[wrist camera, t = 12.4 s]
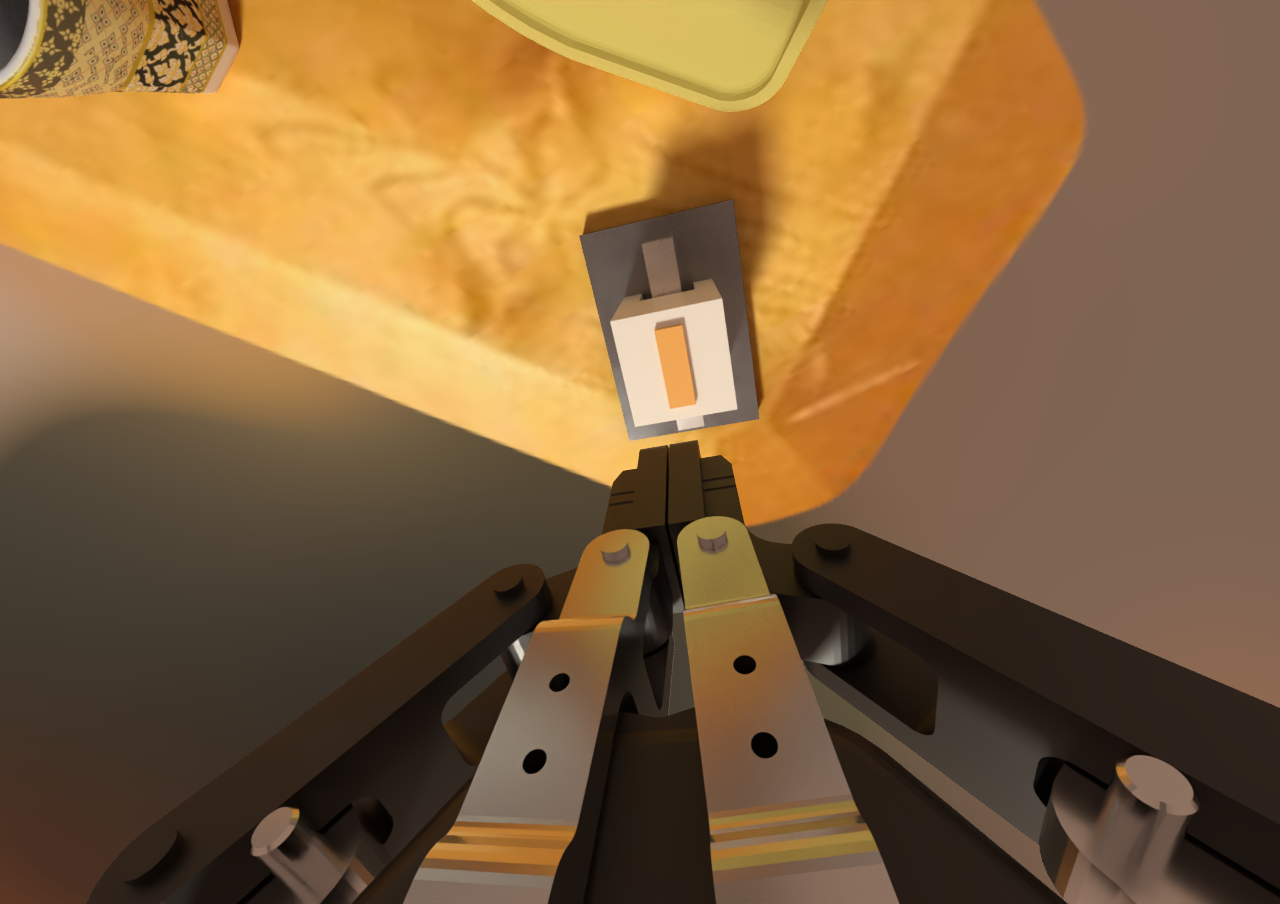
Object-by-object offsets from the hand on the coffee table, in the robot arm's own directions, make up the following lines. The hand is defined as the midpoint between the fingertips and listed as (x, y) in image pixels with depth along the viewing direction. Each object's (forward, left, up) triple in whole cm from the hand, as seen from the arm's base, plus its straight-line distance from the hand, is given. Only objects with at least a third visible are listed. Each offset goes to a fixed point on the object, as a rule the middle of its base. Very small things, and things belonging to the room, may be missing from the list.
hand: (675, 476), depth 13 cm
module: (0, 0, -17) cm, 17 cm away
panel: (0, 0, -18) cm, 18 cm away
